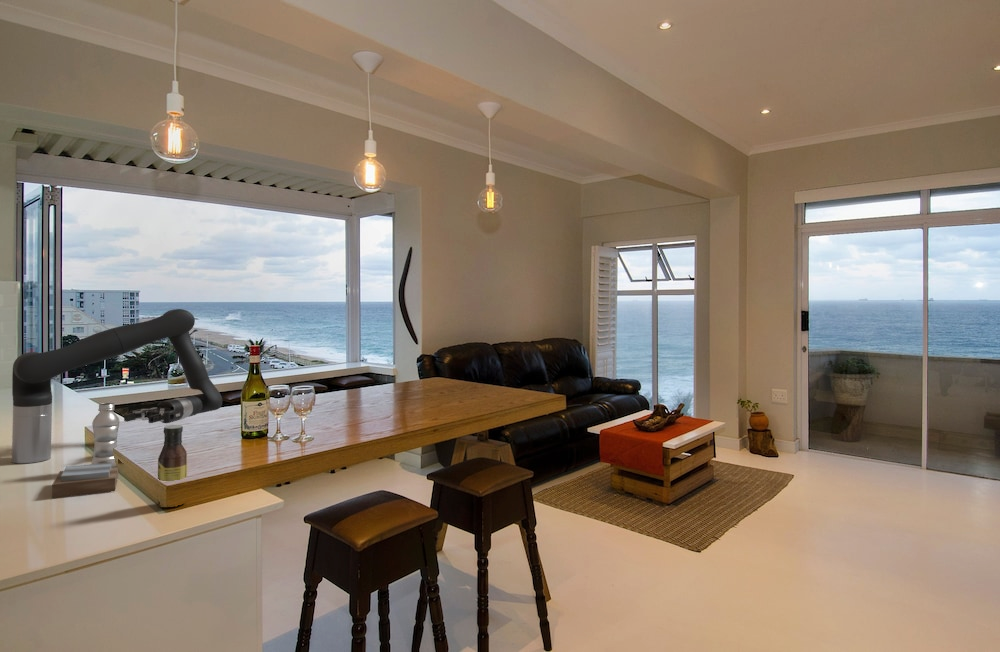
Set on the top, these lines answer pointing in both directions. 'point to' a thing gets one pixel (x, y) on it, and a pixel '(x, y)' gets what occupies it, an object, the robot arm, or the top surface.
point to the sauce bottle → (172, 456)
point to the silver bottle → (105, 434)
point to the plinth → (85, 480)
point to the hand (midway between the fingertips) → (137, 419)
